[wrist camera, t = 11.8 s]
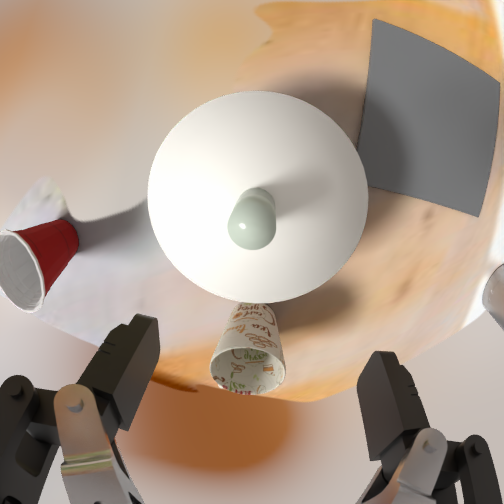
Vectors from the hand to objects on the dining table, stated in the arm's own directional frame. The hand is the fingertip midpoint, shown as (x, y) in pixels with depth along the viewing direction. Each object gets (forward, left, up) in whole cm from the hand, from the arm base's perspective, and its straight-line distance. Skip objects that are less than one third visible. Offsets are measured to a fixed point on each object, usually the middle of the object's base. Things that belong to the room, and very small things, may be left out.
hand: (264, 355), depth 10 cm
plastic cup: (+29, +9, -23) cm, 38 cm away
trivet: (-18, -13, -23) cm, 32 cm away
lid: (+1, -1, -16) cm, 16 cm away
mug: (+1, +19, -23) cm, 30 cm away
